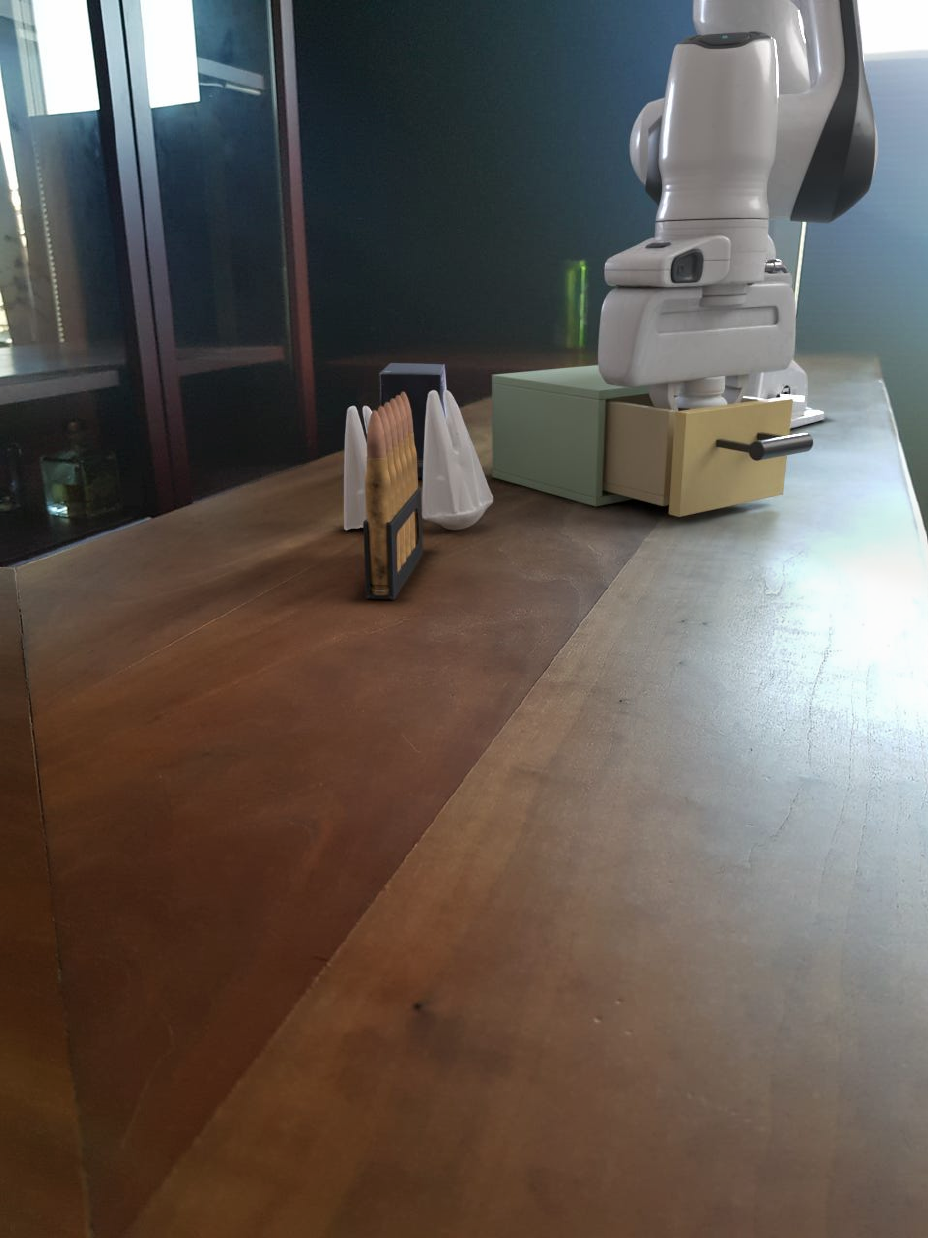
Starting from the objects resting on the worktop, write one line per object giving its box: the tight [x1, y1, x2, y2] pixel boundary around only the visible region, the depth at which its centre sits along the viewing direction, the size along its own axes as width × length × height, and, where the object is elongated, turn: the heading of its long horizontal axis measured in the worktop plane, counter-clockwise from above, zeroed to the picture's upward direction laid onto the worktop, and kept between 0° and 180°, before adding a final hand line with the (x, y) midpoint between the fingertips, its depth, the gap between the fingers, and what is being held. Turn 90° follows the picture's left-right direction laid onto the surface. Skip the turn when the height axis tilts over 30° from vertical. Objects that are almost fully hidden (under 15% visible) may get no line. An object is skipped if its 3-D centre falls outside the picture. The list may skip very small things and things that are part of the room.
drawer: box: [602, 394, 814, 518], centre depth 82 cm, size 20×13×8 cm, turn 34°
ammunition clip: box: [362, 392, 424, 601], centre depth 64 cm, size 11×2×12 cm, turn 172°
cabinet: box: [491, 364, 650, 507], centre depth 91 cm, size 16×14×10 cm
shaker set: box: [343, 389, 494, 531], centre depth 76 cm, size 12×4×11 cm, turn 81°
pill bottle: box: [675, 376, 727, 411], centre depth 81 cm, size 5×5×8 cm
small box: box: [378, 362, 447, 479], centre depth 98 cm, size 11×6×10 cm, turn 179°
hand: (696, 432), depth 81 cm, fingers closed on pill bottle, 5 cm apart
